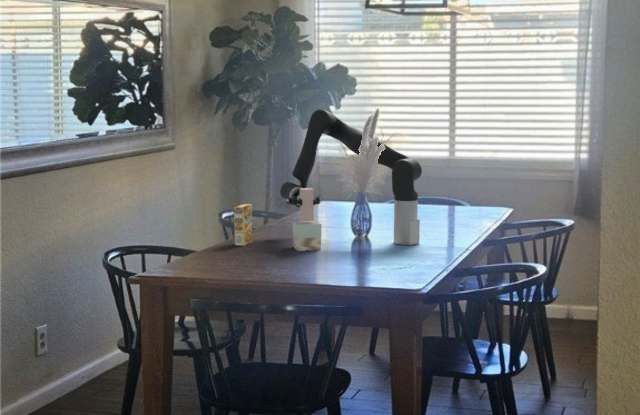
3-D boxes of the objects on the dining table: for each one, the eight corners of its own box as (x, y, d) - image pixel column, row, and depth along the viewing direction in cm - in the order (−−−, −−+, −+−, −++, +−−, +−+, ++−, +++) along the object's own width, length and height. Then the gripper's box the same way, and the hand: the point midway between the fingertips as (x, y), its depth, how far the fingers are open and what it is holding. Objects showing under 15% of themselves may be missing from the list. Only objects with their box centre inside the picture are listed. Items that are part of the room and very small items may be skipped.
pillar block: (311, 219, 365) (311, 188, 363) (313, 220, 360) (313, 189, 359) (299, 219, 364) (299, 188, 362) (301, 221, 360) (301, 189, 358)
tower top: (315, 233, 368) (315, 220, 368) (321, 237, 360) (321, 224, 359) (292, 234, 366) (292, 221, 366) (298, 238, 358) (298, 225, 357)
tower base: (316, 246, 369) (316, 233, 368) (320, 250, 360) (320, 237, 359) (293, 247, 367) (293, 234, 366) (297, 251, 358) (297, 238, 358)
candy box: (244, 246, 369) (243, 206, 367) (234, 245, 370) (233, 206, 368) (252, 242, 377) (252, 204, 375) (242, 241, 378) (242, 203, 376)
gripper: (282, 188, 373) (289, 193, 357) (317, 187, 376) (326, 192, 359) (282, 207, 374) (289, 213, 358) (317, 206, 377) (326, 212, 360)
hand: (308, 202), depth 359 cm, fingers closed on pillar block, 4 cm apart
